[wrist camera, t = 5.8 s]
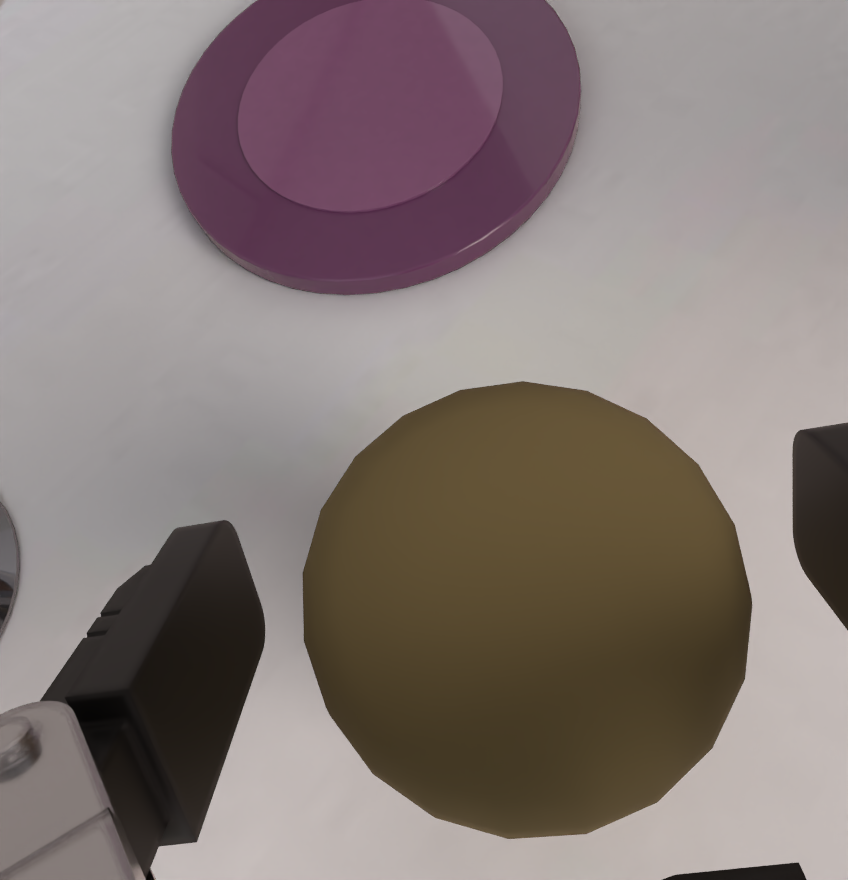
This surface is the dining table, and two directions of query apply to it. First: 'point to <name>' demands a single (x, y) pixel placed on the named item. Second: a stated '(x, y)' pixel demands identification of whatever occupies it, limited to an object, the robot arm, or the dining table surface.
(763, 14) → the dining table surface
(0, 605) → the wine glass
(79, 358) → the dining table surface
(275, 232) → the saucer
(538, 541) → the cork
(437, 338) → the dining table surface
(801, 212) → the dining table surface
